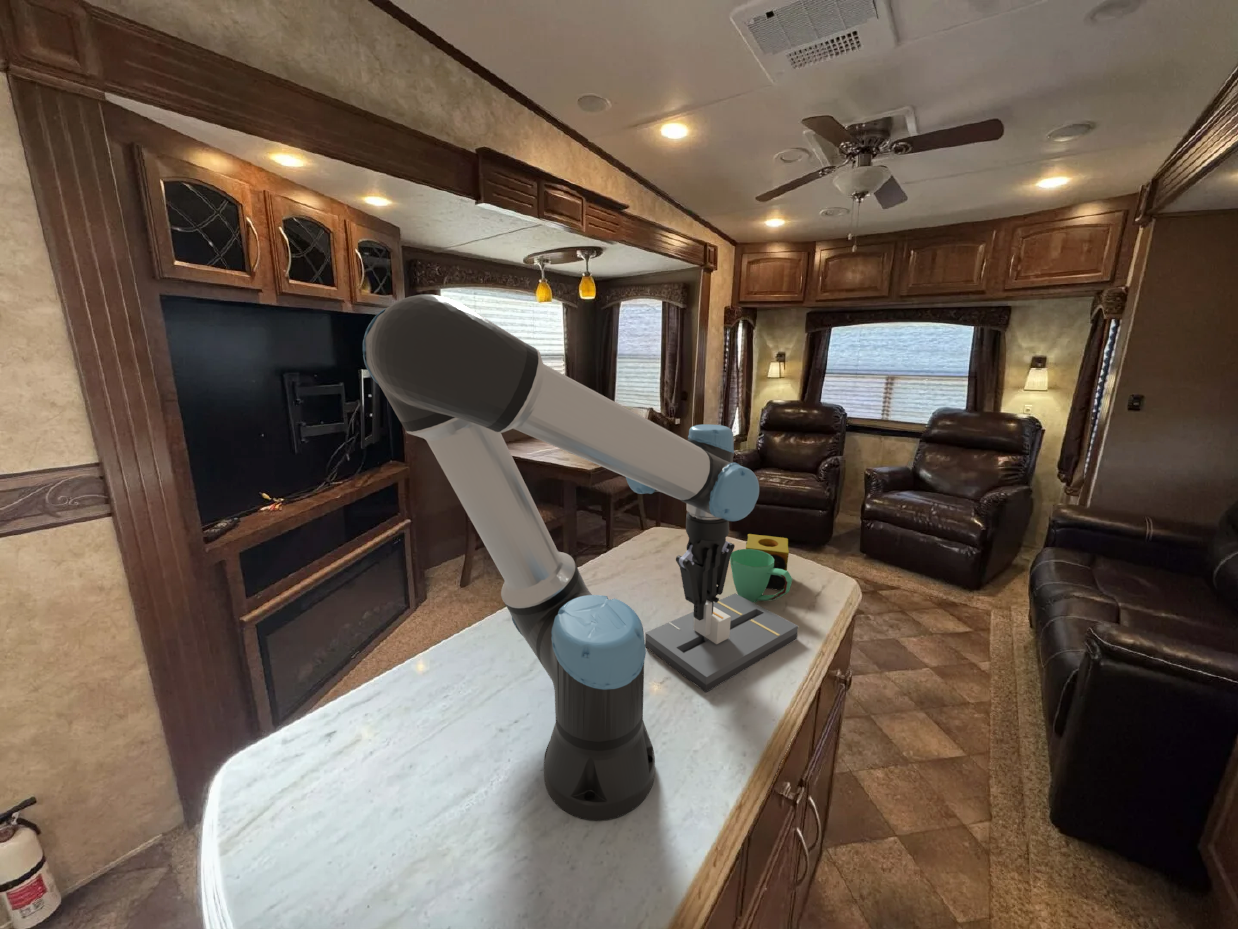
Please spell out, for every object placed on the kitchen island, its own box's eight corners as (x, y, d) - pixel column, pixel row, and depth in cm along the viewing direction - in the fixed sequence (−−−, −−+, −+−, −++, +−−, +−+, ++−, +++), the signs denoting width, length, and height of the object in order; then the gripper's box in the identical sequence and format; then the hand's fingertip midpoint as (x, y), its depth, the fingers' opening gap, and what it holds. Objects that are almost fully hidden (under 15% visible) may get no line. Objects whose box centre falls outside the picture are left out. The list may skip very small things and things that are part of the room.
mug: (719, 597, 113) (721, 557, 110) (742, 583, 119) (744, 545, 117) (777, 622, 102) (781, 578, 100) (798, 605, 109) (803, 564, 107)
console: (705, 692, 81) (706, 676, 81) (645, 646, 94) (645, 632, 93) (796, 639, 97) (798, 625, 96) (734, 605, 109) (735, 592, 108)
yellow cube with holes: (741, 585, 118) (744, 547, 116) (743, 568, 128) (746, 532, 125) (785, 592, 115) (789, 553, 113) (784, 573, 125) (787, 537, 122)
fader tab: (716, 651, 90) (717, 622, 88) (693, 636, 94) (694, 608, 93) (728, 644, 92) (730, 616, 90) (705, 630, 96) (707, 602, 95)
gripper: (696, 527, 78) (691, 655, 84) (749, 511, 86) (741, 629, 92) (665, 514, 84) (663, 634, 90) (717, 500, 92) (711, 612, 97)
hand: (702, 631), depth 91 cm, fingers closed
